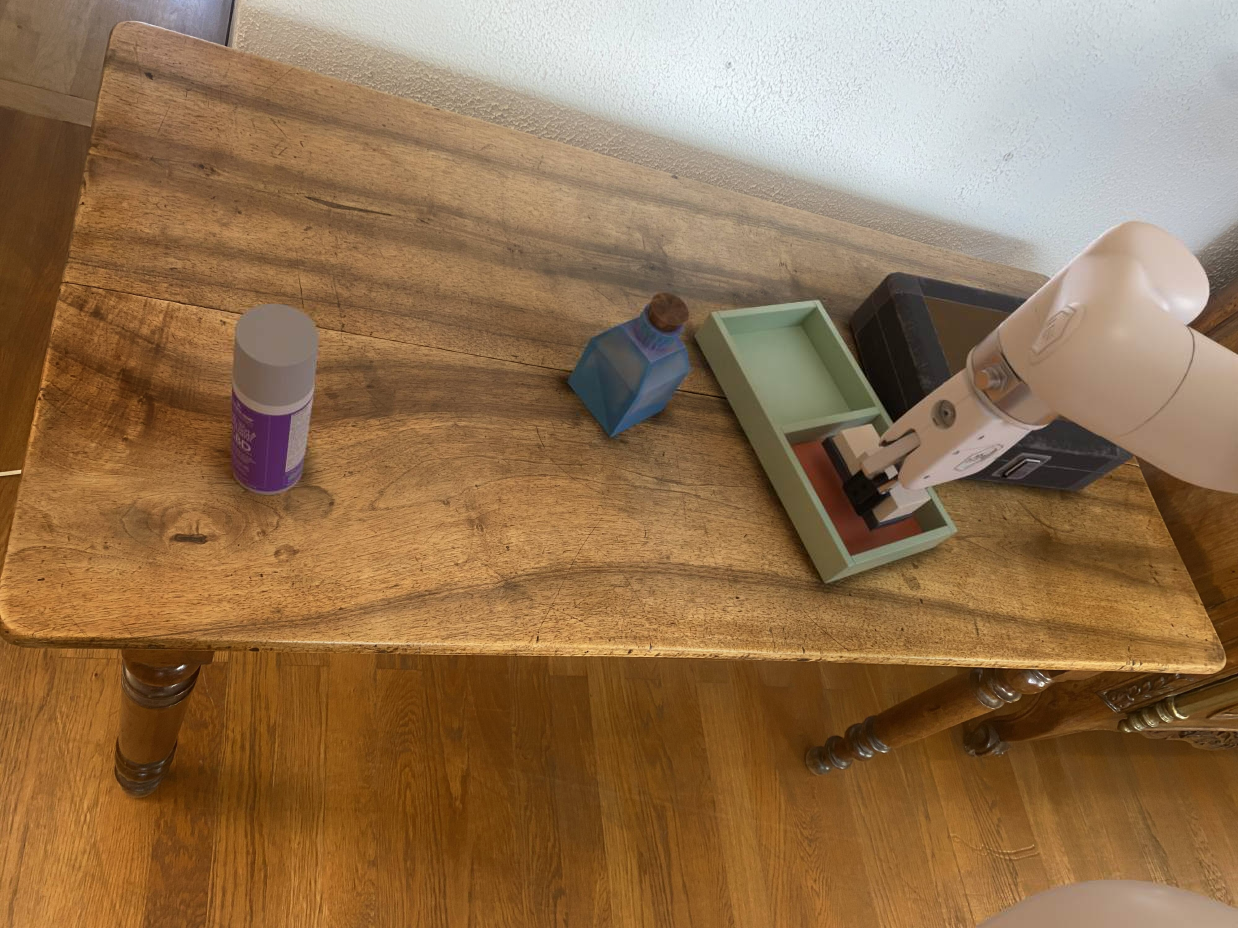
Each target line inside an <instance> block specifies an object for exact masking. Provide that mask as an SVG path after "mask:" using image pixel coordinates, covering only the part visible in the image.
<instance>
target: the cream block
mask: <svg viewBox="0 0 1238 928" xmlns="http://www.w3.org/2000/svg"><path fill="white" fill-rule="evenodd" d="M879 440H880V437H879V436H878V434H877V432H876V430H875V429H874V427H873V425H872V424H868V425H864V426H859V427H855V428H850V429H845V430H841V431H840V432H839V433H838V434H837V435H833V436H828V437H827V438H826V439H825V440H824V441H823V442H822V443H821V444H822V446H823V448H824V450H825V451H826V453H827V455H828V457H829V459H830V460H831V462H832V464H833V466H834V468H835V469H836V471H837V473H838V475H839V477H840V478H841V480H842V482H843V484H844V483H845V482H846V481H847V480H849V479H850V478H851V477H852V476H853V475H854V474H856V473H857V472H858V471H859V470H860V469H861V467H860V466H859V463H860V462H861V461H863V460H865V459H866V458H868V457H870V456H871V455H873V454H875V453H877V452H878V451H880V450H882V449H884V448H885V447H879ZM905 459H906V458H905ZM885 472H886V474H887V475H888V478H889V479H891V478H892V477H894V476H895V475H896V474H898V472H897V470H896V468H895V467H894V465H892V466H890V467H888V468H887V469H885ZM890 494H891V496H889V497H888V498H887V499H885V500H884V501H883V502H882V503H880V504H879V505H878V506H876V507H875V508H874V509H873V510H871V511H870V512H869V513H867V514H866V515H864V516H862V518H863V520H864V521H865V523H866V525H867V527H868V529H869V530H870V531H873V530H877V529H880V528H883V527H887V526H890V525H893V524H896V523H900V522H903V521H906V520H907V519H908V518H910V517H911V516H913V513H912V512H913V511H915V510H916V509H917V508H919V507H920V506H921V505H923V504H924V503H926V502H927V501H928V500H930V499H931V497H930V496H929V494H928V492H927V491H926V489H925V488H922V489H918V490H909V489H905V488H903V487H902V484H899V485H898V486H896V487H895V488H893V489H892V490H890Z"/></svg>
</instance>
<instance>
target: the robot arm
mask: <svg viewBox="0 0 1238 928" xmlns="http://www.w3.org/2000/svg"><path fill="white" fill-rule="evenodd" d="M1209 297H1210V283H1209V279H1208V276H1207V273H1206V271H1205V269H1204V268H1203V266H1202V264H1201V262H1200V261H1199V259H1198V258H1197V257H1196V256H1195V255H1194V254H1193V252H1192V251H1191V250H1190V249H1189V248H1188V247H1187V246H1186V245H1185V244H1184V243H1182V241H1181V240H1179V239H1178V238H1177V237H1175V236H1174V235H1173V234H1171V233H1170V232H1168V231H1166V230H1165V229H1163V228H1161V227H1159V226H1158V225H1156V224H1153V223H1150V222H1146V221H1138V220H1132V221H1131V220H1130V221H1129V220H1128V221H1124V222H1121V223H1117V224H1116V225H1113V226H1112V227H1110V228H1108V229H1106V230H1105V231H1104V232H1103V233H1101V234H1100V235H1099V236H1098V237H1096V239H1093V241H1092V242H1091V243H1090V244H1088V246H1086V247H1085V248H1084V249H1083V250H1082V251H1081V252H1080V253H1079V254H1078V255H1076V256H1075V257H1074V258H1072V260H1071V261H1069V263H1067V264H1066V265H1065V266H1064V267H1063V268H1062V269H1060V270H1059V271H1058V272H1057V273H1056V274H1055V275H1054V276H1053V277H1051V279H1049V280H1048V281H1047V282H1046V283H1045V284H1043V286H1042V287H1041V288H1039V289H1038V290H1037V291H1036V292H1035V293H1033V294H1032V295H1031V296H1030V297H1029V298H1027V299H1028V300H1027V301H1026V302H1025V303H1024V304H1023V305H1021V306H1020V307H1019V308H1018V309H1017V310H1016V311H1015V312H1014V313H1012V314H1011V315H1010V316H1009V317H1008V318H1007V319H1006V320H1005V321H1004V322H1002V323H1001V324H1000V325H999V326H998V327H997V328H996V329H995V330H993V331H992V332H991V333H990V334H989V335H988V336H987V337H986V338H984V339H983V340H982V341H981V342H980V343H979V344H978V345H977V346H975V347H974V348H973V349H972V350H971V351H970V353H969V355H968V357H967V363H966V368H965V369H963V370H962V371H960V372H959V373H958V374H956V375H955V376H953V377H952V378H951V379H949V380H948V381H947V382H945V383H943V385H941V386H940V387H939V388H937V389H936V390H935V391H933V392H932V393H931V394H929V395H928V396H927V397H925V398H924V399H923V400H922V401H920V402H919V403H918V404H917V405H915V406H914V407H913V408H912V409H910V410H909V411H908V412H907V413H906V414H904V415H903V416H902V417H901V418H900V419H898V420H897V421H896V422H895V423H894V424H893V425H892V426H891V427H890V428H889V429H888V430H887V431H886V432H885V433H884V434H883V435H882V436H881V438H880V440H879V447H885V448H884V449H882V450H880V451H878V452H877V453H875V454H873V455H871V456H870V457H868V458H866V459H865V460H863V461H861V462H860V463H859V466H860V467H861V469H860V470H859V471H858V472H857V473H856V474H854V475H853V476H852V477H851V478H850V479H849V480H847V481H846V482H845V483H844V484H843V486H842V488H843V490H844V492H845V494H846V496H847V498H848V499H849V501H850V503H851V505H852V507H853V508H854V510H855V512H856V514H857V515H858V516H864V515H866V514H867V513H869V512H870V511H871V510H873V509H874V508H875V507H876V506H878V505H879V504H880V503H882V502H883V501H884V500H885V499H887V498H888V497H889V496H891V494H890V490H892V489H893V488H895V487H896V486H898V485H899V484H902V487H903V488H905V489H909V490H918V489H922V488H925V489H927V488H928V487H930V486H931V487H933V486H937V485H940V484H943V483H948V482H952V481H954V480H958V479H962V478H961V477H965V476H968V475H971V474H974V473H976V472H978V471H980V470H982V469H984V468H985V467H987V466H988V465H989V464H991V463H992V462H993V461H994V460H996V459H997V458H998V457H999V456H1001V455H1002V454H1003V453H1004V452H1006V451H1007V450H1008V449H1009V448H1011V447H1012V446H1013V445H1014V444H1016V443H1017V442H1018V441H1019V440H1021V439H1022V438H1023V437H1024V436H1026V435H1027V434H1028V433H1029V432H1030V431H1032V430H1038V429H1041V428H1043V427H1045V426H1047V425H1048V424H1049V423H1051V422H1052V421H1054V420H1055V419H1056V418H1058V417H1059V416H1060V415H1062V416H1064V417H1066V418H1068V419H1069V420H1071V421H1073V422H1075V423H1077V424H1078V425H1080V426H1082V427H1084V428H1086V429H1087V430H1089V431H1091V432H1093V433H1095V434H1096V435H1099V436H1102V437H1104V438H1105V439H1107V440H1109V441H1111V442H1113V443H1114V444H1116V445H1118V446H1120V447H1122V448H1123V449H1125V450H1127V451H1129V452H1131V453H1132V454H1134V455H1135V456H1136V457H1138V458H1140V459H1142V460H1143V461H1145V462H1147V463H1148V464H1151V465H1152V466H1154V467H1156V468H1157V469H1159V470H1161V471H1163V472H1164V473H1166V474H1167V475H1170V476H1172V477H1174V478H1176V479H1178V480H1180V481H1182V482H1186V483H1188V484H1191V485H1193V486H1198V487H1201V488H1204V489H1210V490H1214V491H1218V492H1226V493H1231V494H1238V354H1237V353H1235V352H1233V351H1232V350H1230V349H1228V348H1227V347H1225V346H1223V345H1221V344H1220V343H1218V342H1216V341H1214V340H1213V339H1211V338H1209V337H1208V336H1205V335H1204V334H1202V333H1200V332H1199V331H1197V330H1196V329H1194V328H1192V327H1191V326H1189V324H1190V323H1192V322H1193V321H1194V320H1196V318H1198V316H1199V315H1200V314H1201V313H1202V312H1203V311H1204V309H1205V307H1206V306H1207V304H1208V301H1209ZM905 458H906V459H905ZM892 465H894V467H895V468H896V470H897V472H898V474H896V475H895V476H894V477H892V478H891V479H889V478H888V475H887V474H886V472H885V469H887V468H888V467H890V466H892ZM971 928H1238V908H1236V907H1233V906H1231V905H1229V904H1227V903H1224V902H1222V901H1219V900H1217V899H1214V898H1212V897H1208V896H1206V895H1203V894H1200V893H1198V892H1195V891H1191V890H1188V889H1184V888H1181V887H1178V886H1175V885H1170V884H1166V883H1162V882H1161V883H1160V882H1155V881H1149V880H1148V881H1147V880H1139V879H1128V878H1108V879H1107V878H1105V879H1093V880H1085V881H1077V882H1071V883H1066V884H1061V885H1058V886H1055V887H1050V888H1047V889H1044V890H1041V891H1039V892H1036V893H1034V894H1032V895H1030V896H1027V897H1025V898H1023V899H1021V900H1019V901H1018V902H1015V903H1014V904H1012V905H1009V906H1008V907H1006V908H1004V909H1002V910H1000V911H998V912H996V913H995V914H993V915H991V916H990V917H988V918H986V919H985V920H983V921H980V923H977V924H976V925H974V926H972V927H971Z"/></svg>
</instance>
